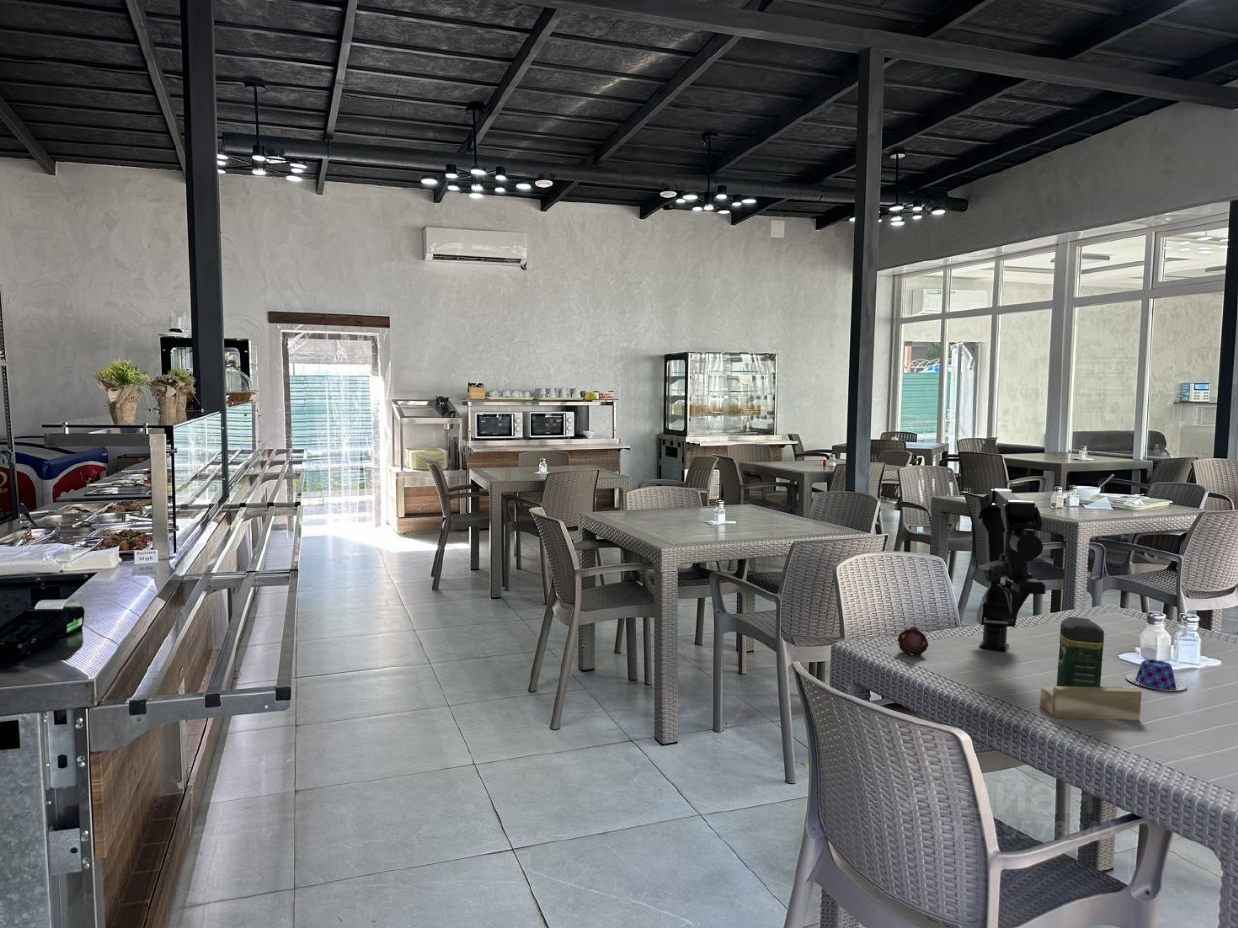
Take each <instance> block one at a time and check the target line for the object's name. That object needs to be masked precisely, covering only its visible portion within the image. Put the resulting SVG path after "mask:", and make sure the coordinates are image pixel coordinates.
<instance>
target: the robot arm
mask: <svg viewBox="0 0 1238 928" xmlns="http://www.w3.org/2000/svg"><path fill="white" fill-rule="evenodd" d="M975 518H976V519H977V521H978V523H977V524H978V528H979V529H980V530H981V532H982V533H983V534H984V536H985V553H986V554H985V556H986V557H985V558H986V563H983V564H981V565H979V566H978V568H977V569H978V571H979V574H980V577H981V578H980V579H981V580H984V581H985V582H987V589H986V591H985V592H984V594H983V595H982V597H981V602H980V604H979V606H978V609H977V612H976V621H977V623H978V624H979V625H980V626H982V627H983V628H982V630H983V633H982V641H981V642H980V644H978V645H979V646H978V647H979V648H983V649H987V650H995V651H1000V652H1007V650H1008V649H1009V647H1010V644H1009V643H1007V637H1008V636H1007V635H1008V627H1011V628H1015V627H1016V623H1017V618H1018V614H1019V611H1020V610H1021V608H1022V606H1023V605H1024V603H1025V601H1026V600H1027V598H1028V597H1029V596H1030V595H1045V594H1046V593H1047V585H1046V584H1045V583H1044V582H1043V581H1041V580H1038V579H1036V578H1033V574H1032V573H1031V572H1030V564H1031V563H1033V562H1034V559H1036V558H1038V557H1039V556H1040V555H1042V553H1043V550H1044V545H1043V541H1042V540H1041V539H1040V538H1039V537H1038V536H1037V535H1035V533H1036V532H1042V526H1043V521H1042V516H1041V511H1040V510H1039V506H1038V505H1037V504H1036V503H1035V501H1034V500H1029V499H1020V498H1019V497H1018V496H1016V494H1015V493H1013V492H1012V489H1009V488H998V487H997V488H990V489H989V491H988V494H986V495H984V496H983V497H980V498H979V500H978V502H977V505H976V507H975Z"/></svg>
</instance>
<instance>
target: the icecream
mask: <svg viewBox="0 0 1238 928" xmlns="http://www.w3.org/2000/svg"><path fill="white" fill-rule="evenodd" d="M897 642H898V646H899V649H900V650H901V651H902V652H904V654H907V655H908V654H909V655H908V656H914V655H919V656H921V655H922V654H923V653H924V652H926V651H927V649H928V647H929V642H928V639H927V637H926V635H925V634H924V633H923V632H921V631H920V630H919V629H918V628H917V627H916V626H911V627H910V628H907V629H905V630H904V631H902V632H901V633H899V635H898V638H897ZM911 654H913V655H911Z"/></svg>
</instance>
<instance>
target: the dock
mask: <svg viewBox="0 0 1238 928" xmlns="http://www.w3.org/2000/svg"><path fill="white" fill-rule="evenodd" d="M1039 699H1040V700H1039V706H1040V707H1041V708H1043V709H1044V710H1045V711H1047V712H1048V713H1050V715H1052V716H1053V717H1054V718H1055V719H1075V720H1076V719H1077V720H1078V719H1082V720H1083V719H1084V720H1087V719H1089V720H1121V721H1123V720H1126V721H1127V720H1128V721H1131V720H1132V721H1140V718H1141V707H1142V706H1141V704H1142V691H1141V690H1139V689H1138V688H1136V687H1123V686H1100V687H1097V686H1064V687H1062V686H1056V685H1055V686H1053V688H1052V687H1047V686H1045V687H1044V686H1042V687H1040V698H1039Z"/></svg>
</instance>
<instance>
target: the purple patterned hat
mask: <svg viewBox="0 0 1238 928" xmlns="http://www.w3.org/2000/svg"><path fill="white" fill-rule="evenodd" d="M1134 676H1136V678H1135V679H1134V680H1136V681H1139V682H1137V683H1138V684H1137V683H1134V682H1133V681H1131V680H1130V679H1129V678H1133V677H1134ZM1125 678H1126V680H1128V681H1129V682H1131V683H1133V684H1135V685H1138V686H1142V685H1139V683H1140V684H1143V686H1142V687H1144V688H1148V689H1154V690H1160V691H1165V690H1166V691H1170V692H1171V691H1172V692H1173V691H1174V692H1175V691H1176V692H1177V691H1183V690H1186V689H1187V687H1188V686H1187V685H1186V684H1185V683H1184V682H1182V681H1180V680H1178V679H1176V678H1175V674H1174V670H1173V667H1172V665H1171V664H1170V663H1169V662H1166V661H1164V660H1159V659H1148V658H1147V659H1144V660H1143V661H1142V662H1141V663H1140V666H1139V669H1138V671H1137V672H1132V673H1127V674H1126V675H1125ZM1136 681H1135V682H1136ZM1175 681H1176V682H1177V684H1178V685H1179V688H1178V689H1176V688H1177V686H1176V683H1175ZM1144 685H1147V687H1146V686H1144ZM1149 686H1150V687H1149ZM1151 687H1152V688H1151ZM1157 688H1158V689H1157ZM1172 688H1175V689H1176V690H1172Z"/></svg>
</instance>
